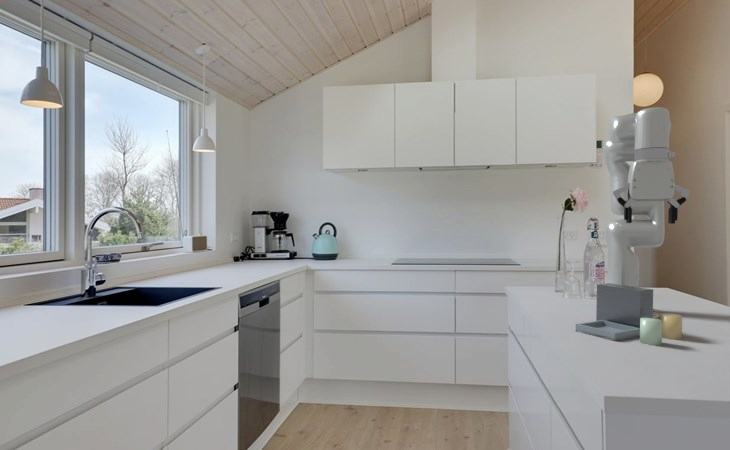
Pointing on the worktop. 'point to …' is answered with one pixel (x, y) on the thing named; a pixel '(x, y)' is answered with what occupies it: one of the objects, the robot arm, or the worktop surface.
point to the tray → (608, 330)
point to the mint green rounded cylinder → (651, 331)
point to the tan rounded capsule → (671, 326)
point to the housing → (623, 304)
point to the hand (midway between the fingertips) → (649, 223)
